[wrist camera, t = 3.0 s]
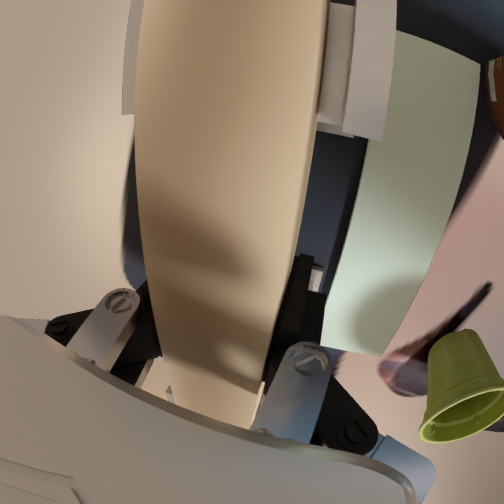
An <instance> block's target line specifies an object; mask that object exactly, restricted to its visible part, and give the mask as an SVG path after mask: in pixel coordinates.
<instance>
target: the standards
mask: <svg viewBox="0 0 504 504" xmlns="http://www.w3.org/2000/svg"><path fill="white" fill-rule="evenodd" d="M143 6H144V0H132V1H131V7H130V14H129V20H128V28H127V35H126V45H125V56H124V68H123V87H122V88H123V89H122V115H124V114H135V85H136V68H137V55H138V44H139V35H140V27H141V19H142V12H143ZM396 14H397V0H354V4H353V6H349V5H343V4H337V3H331V2H330V15H329V27H328V37H327V47H326V57H325V66H324V75H323V83H322V91H321V99H320V106H319V114H318V121H317V128H316V130H317V131H322V132H327V133H332V134H337V135H342V136H346V137H350V138H354V135H356V136H360V137H364V138H368V139H372V140H375V141H379V142H381V141H382V136H383V131H384V125H385V119H386V113H387V107H388V100H389V93H390V86H391V78H392V69H393V60H394V49H395V35H396ZM323 269H324V268H323V267H319V266H314V265H313V267H312V272H311V277H310V283H309V288H308V290H311V291H315V292H318V288H319V285H320V281H321V278H322V274H323ZM166 395H167V398H168V401H169V402H171V403H173V404H176V403H175V400H174V397H173V393H172V390H171V386H170V385H169V387H168V389H167V390H166ZM264 398H265V395H264V394H262V398H261V402H260V406H259V409H260V407H261V405H262V403H263V401H264ZM259 409H258V411H259Z"/></svg>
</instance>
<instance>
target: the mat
mask: <svg viewBox="0 0 504 504" xmlns="http://www.w3.org/2000/svg"><path fill="white" fill-rule="evenodd" d="M479 80H480V64H478V63H476V62H474V61H472V60H470V59H468V58H466V57H464V56H462V55H460V54H458V53H456V52H454V51H451V50H449V49H447V48H445V47H442V46H440V45H437V44H435V43H432V42H430V41H427V40H425V39H422V38H419V37H416V36H413V35H410V34H407V33H404V32H401V31H398V30H396V35H395V49H394V60H393V69H392V78H391V86H390V93H389V100H388V107H387V113H386V119H385V125H384V131H383V136H382V141H381V142H379V141H375V140H372V139H368V144H367V149H366V154H365V159H364V164H363V169H362V173H361V178H360V182H359V187H358V191H357V195H356V199H355V203H354V208H353V212H352V215H351V219H350V223H349V227H348V231H347V234H346V238H345V242H344V245H343V249H342V252H341V256H340V259H339V262H338V266H337V269H336V272H335V276H334V279H333V282H332V285H331V288H330V291H329V294H328V297H327V300H326V304H325V313H324V321H323V328H322V336H321V343H320V345H321V346H326V347H331V348H335V349H340V350H345V351H351V352H356V353H361V354H368V355H373V356H379V357H381V356H382V354H383V352H384V351H385V349H386V348H387V346H388V344H389V343H390V341H391V340H392V338H393V336H394V334H395V333H396V331H397V329H398V327H399V326H400V324H401V322H402V321H403V319H404V317H405V315H406V313H407V311H408V309H409V308H410V306H411V304H412V302H413V300H414V298H415V296H416V294H417V292H418V290H419V288H420V286H421V284H422V282H423V280H424V277H425V276H426V273H427V271H428V269H429V267H430V265H431V262H432V260H433V258H434V255H435V253H436V251H437V248H438V246H439V243H440V241H441V238H442V236H443V233H444V230H445V228H446V225H447V222H448V219H449V217H450V214H451V211H452V208H453V205H454V202H455V199H456V195H457V192H458V189H459V185H460V182H461V178H462V175H463V171H464V167H465V163H466V159H467V155H468V151H469V146H470V141H471V136H472V131H473V126H474V120H475V114H476V107H477V99H478V90H479Z"/></svg>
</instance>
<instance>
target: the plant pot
mask: <svg viewBox="0 0 504 504" xmlns="http://www.w3.org/2000/svg"><path fill="white" fill-rule="evenodd" d="M503 415H504V380H503V378H501V377H500V375H499V373H498V371H497V369H496V367H495V365H494V363H493V361H492V360H491V358H490V356H489V354H488V352H487V350H486V348H485V346H484V344H483V343H482V341H481V339H480V337H479V336H478V334H477V333H476V332H475V331H473V330H470V329H464V330H462V331H459V332H450V333H448V334H446V335H445V336H443V337H442V338H440V339H439V340H438V341H437V342H436V343H435V344H434V345H433V346H432V348H431V349H430V351H429V355H428V392H427V409H426V411H425V414H424V419H423V423H422V424H421V426H420V428H419V431H418V434H419V438H420V439H421V440H423V441H425V442H428V443H446V442H452V441H456V440H460V439H463V438H466V437H469V436H471V435H474V434H476V433H478V432H480V431H482V430H484V429H485V428H487V427H489V426H490V425H492V424H493V423H494V422H496V421H497V420H498V419H500V418H501V417H502V416H503Z"/></svg>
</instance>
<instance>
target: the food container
mask: <svg viewBox="0 0 504 504" xmlns="http://www.w3.org/2000/svg"><path fill="white" fill-rule="evenodd" d="M484 80H485V89H486V98H487V101H488V105H489V108H490V112H491V115H492V119H493V121H494V123H495V125H496V127H497V129H498V131H499V133H500V135H501V137H502V138H503V140H504V56H501V57H499V58H496V59H493V60H490V61H488V62H485V71H484Z"/></svg>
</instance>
